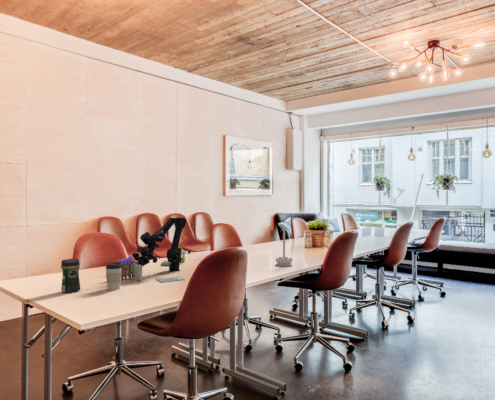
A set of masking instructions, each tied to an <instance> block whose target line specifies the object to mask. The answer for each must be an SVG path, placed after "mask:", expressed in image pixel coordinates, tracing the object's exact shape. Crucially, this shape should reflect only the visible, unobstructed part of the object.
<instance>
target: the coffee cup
mask: <svg viewBox="0 0 495 400" xmlns="http://www.w3.org/2000/svg"><path fill="white" fill-rule="evenodd" d="M121 268H122V267H121V265H120V263H118V261H116V262H112V263H107V264H106V265H105V278H106V284H107V290H108V291H117V290H120V289H121V281H122V280H121Z"/></svg>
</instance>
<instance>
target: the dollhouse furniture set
mask: <svg viewBox="0 0 495 400" xmlns="http://www.w3.org/2000/svg"><path fill="white" fill-rule="evenodd" d="M178 251H179V257H180V258H181V262H180V263H179V266H180V265H182V264H185V262H186V257H185V250H183V247H181V246H180V247H179V246H178ZM169 264H170V262H168V260H163V261H162V262H161V263H160V266H161V267H165V266H168V267H169Z"/></svg>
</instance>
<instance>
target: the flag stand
mask: <svg viewBox="0 0 495 400" xmlns="http://www.w3.org/2000/svg"><path fill="white" fill-rule="evenodd" d="M286 229H287V227H286V226H283V227H282V228H281V230H282V256H279V257H278V256H277V257H275V262H276V266H278V267H290V266H292V263H293V257H288V256H286Z"/></svg>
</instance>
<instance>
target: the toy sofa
mask: <svg viewBox="0 0 495 400" xmlns="http://www.w3.org/2000/svg"><path fill="white" fill-rule="evenodd" d="M117 262H118V263H120V265H121V264H123V265H124V264H127V265H128V263H131V273H132V263H135V264H138V261H137V260H135V259H134V260H133V257H132V255H129V256H127V257H126V258H123V259H121V260H120V259H117ZM123 274H124V270H123ZM127 274H128V270H127Z"/></svg>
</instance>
